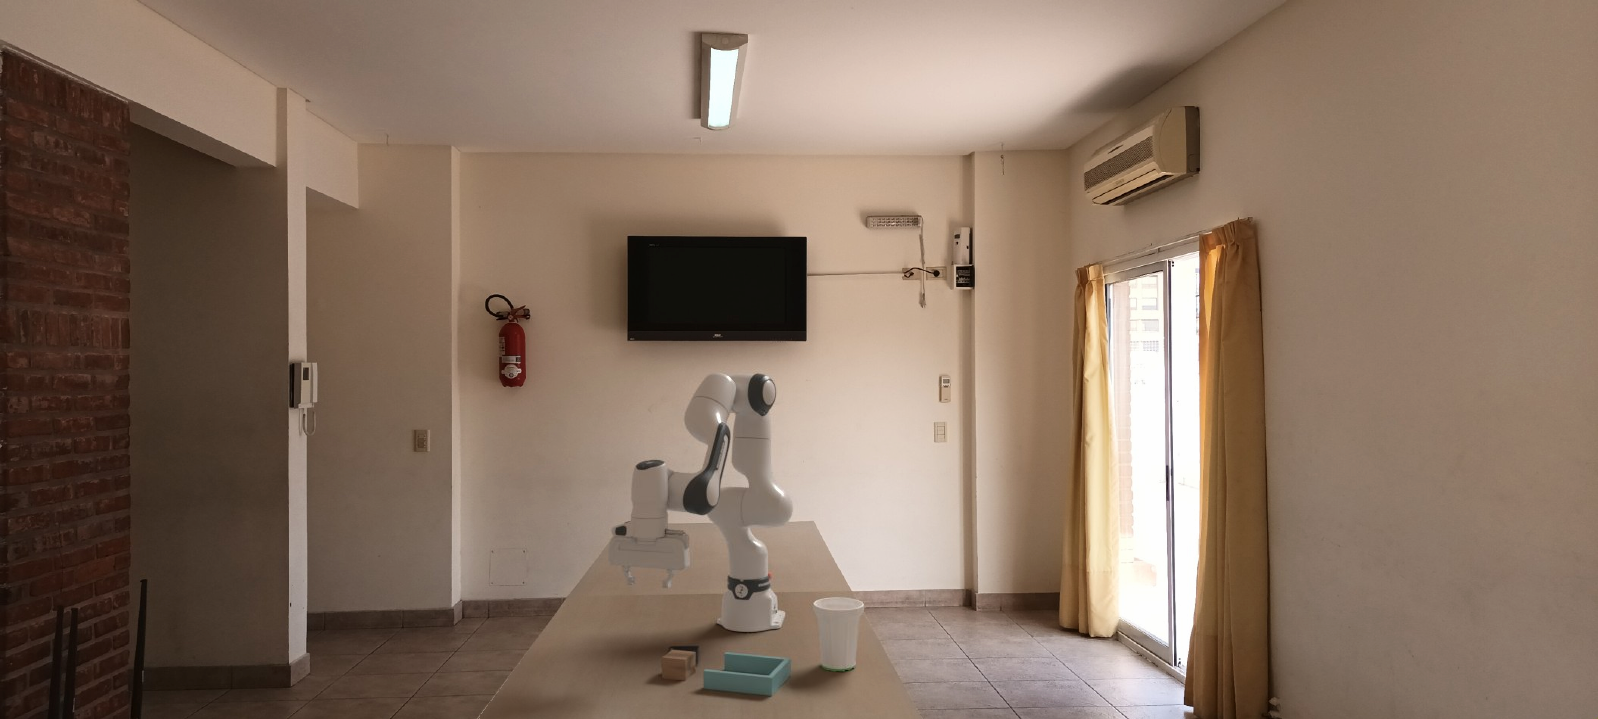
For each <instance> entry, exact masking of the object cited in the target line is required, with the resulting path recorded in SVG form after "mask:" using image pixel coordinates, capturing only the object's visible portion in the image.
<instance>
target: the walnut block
mask: <svg viewBox="0 0 1598 719" xmlns="http://www.w3.org/2000/svg"><path fill="white" fill-rule="evenodd" d="M696 668H697V667H696V652H691V651H680V650H672V651H670V652H669V653H668V652H667V653H666V654H665V655H663V656H662V657H661V678H662V679H668V680H676V681H677V680H678V681H687V680H688V679H690V678H691V677H692V676H693V675H695V673H696V670H697V669H696Z"/></svg>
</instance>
